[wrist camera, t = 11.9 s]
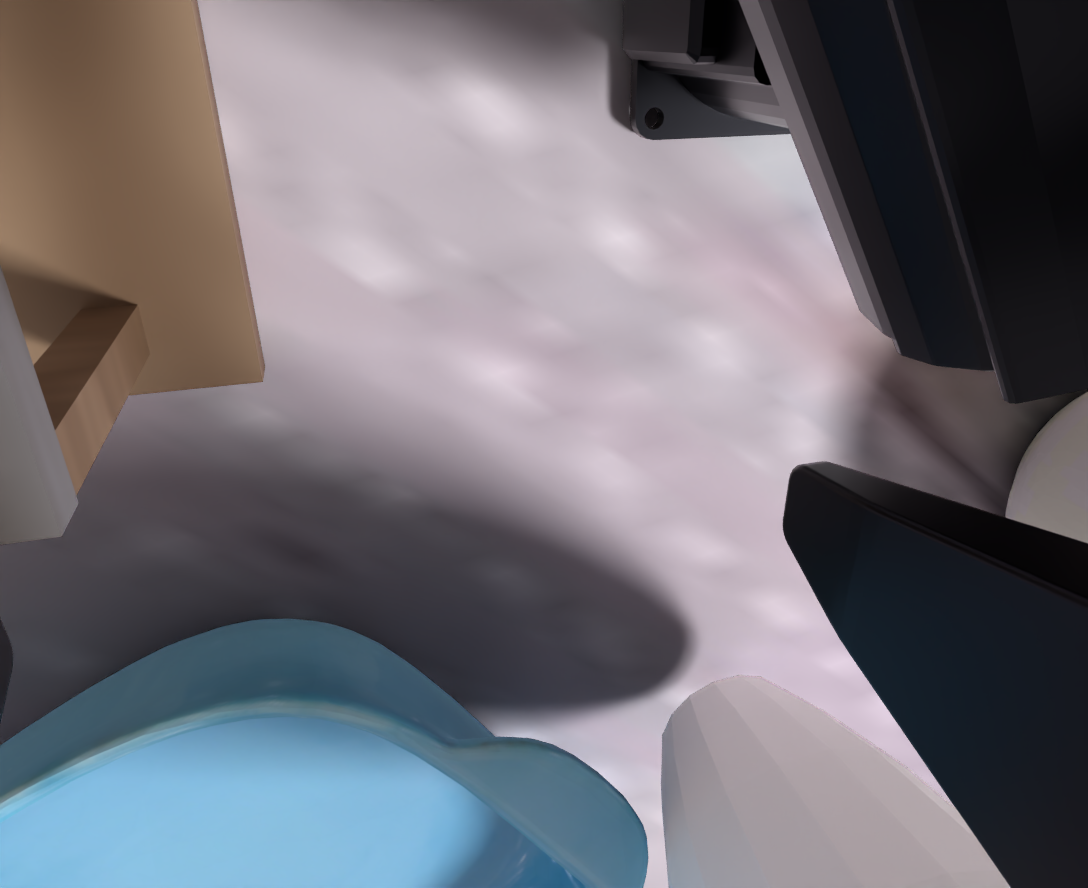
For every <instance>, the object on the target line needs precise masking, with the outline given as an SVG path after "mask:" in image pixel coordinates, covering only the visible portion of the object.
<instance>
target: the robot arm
mask: <svg viewBox="0 0 1088 888" xmlns="http://www.w3.org/2000/svg"><path fill="white" fill-rule="evenodd" d="M622 48H623V50H624V51H625V52H626V54H627V55H628V56H629V57H630V58H631V59H632V74H631V101H630V122H631V127H632V128H633V130H634V132H635V133H636V134H638V135H639V136H640V137H643V138H646V139H651V140H662V139H685V138H708V137H730V136H753V135H776V134H791V136H792V138H793V141H794V144H795V146H796V149H797V151H798V154H799V156H800V159H801V162H802V164H803V167H804V169H805V172H806V174H807V177H808V179H809V182H810V185H811V187H812V190H813V192H814V195H815V197H816V200H817V203H818V205H819V208H820V210H821V213H822V215H823V218H824V221H825V223H826V226H827V228H828V231H829V233H830V236H831V239H832V241H833V244H834V246H835V249H836V251H837V254H838V256H839V259H840V262H841V264H842V267H843V269H844V272H845V274H846V277H847V280H848V282H849V285H850V287H851V290H852V292H853V295H854V298H855V300H856V303H857V305H858V308H859V310H860V312H861V313H862V314H863V315H864V316H865V317H866V318H868V319H869V320H870V321H871V322H872V323H873V324H874V325H875V326H876V327H877V328H878V329H879V330H880V331H881V332H882V333H883V334H884V335H886V336H888V337H890V338H892V340H893V342H894V345H895V348H896V350H897V352H898V353H900V354H901V355H902V356H906V357H909V358H912V359H915V360H918V361H921V362H925V363H928V364H931V365H935V366H942V367H951V368H960V369H970V370H980V371H990V372H993V371H995V374H996V378H997V381H998V384H999V388H1000V391H1001V394H1002V397H1003V399H1004V400H1005V401H1007V402H1008V403H1015V404H1017V403H1023V402H1028V401H1033V400H1037V399H1042V398H1047V397H1051V396H1056V395H1061V394H1065V393H1070V392H1075V391H1079V390H1084V389H1088V0H624V5H623V37H622ZM651 108H655V109H656V110H657V112H658V119H657V122H656V124H655V125H654V126H653V127H650V128H648V127H647V125H646V124H645V115H646V113H647V112H648V110H649V109H651ZM783 532H784V536H785V539H786V541H787V543H788V545H789V547H790V549H791V551H792V553H793V555H794V556H795V558H796V560H797V562H798V564H799V566H800V567H801V569H802V571H803V573H804V575H805V577H806V579H807V580H808V582H809V584H810V586H811V588H812V590H813V592H814V593H815V595H816V597H817V599H818V601H819V603H820V605H821V606H822V608H823V610H824V612H825V614H826V616H827V617H828V619H829V621H830V623H831V625H832V626H833V628H834V630H835V631H836V633H837V635H838V637H839V638H840V640H841V641H842V643H843V644H844V646H845V647H846V649H847V651H848V652H849V654H850V655H851V657H852V658H853V659H854V661H855V662H856V664H857V665H858V667H859V668H860V670H861V671H862V673H863V674H864V675H865V677H866V678H867V680H868V681H869V683H870V684H871V686H872V687H873V689H874V690H875V691H876V693H877V694H878V696H879V697H880V699H881V700H882V702H883V703H884V705H885V706H886V707H887V709H888V710H889V712H890V713H891V715H892V716H893V718H894V719H895V721H896V722H897V723H898V725H899V726H900V728H901V729H902V731H903V732H904V734H905V735H906V737H907V738H908V739H909V741H910V742H911V744H912V745H913V747H914V748H915V750H916V751H917V753H918V754H919V755H920V757H921V758H922V760H923V761H924V763H925V764H926V766H927V767H928V769H929V770H930V771H931V773H932V774H933V776H934V777H935V779H936V780H937V782H938V783H939V785H940V786H941V787H942V789H943V790H944V792H945V793H946V795H947V796H948V798H949V799H950V801H951V802H952V803H953V805H954V806H955V808H956V809H957V811H958V812H959V814H960V815H961V817H962V818H963V819H964V821H965V822H966V824H967V825H968V827H969V828H970V830H971V831H972V833H973V834H974V835H975V837H976V838H977V840H978V841H979V843H980V844H981V846H982V847H983V849H984V850H985V851H986V853H987V854H988V856H989V857H990V859H991V860H992V862H993V863H994V865H995V866H996V867H997V869H998V870H999V872H1000V873H1001V875H1002V876H1003V878H1004V879H1005V881H1006V882H1007V883H1008V885H1009V886H1010V888H1088V543H1086V542H1083V541H1079V540H1076V539H1073V538H1070V537H1067V536H1063V535H1060V534H1057V533H1054V532H1051V531H1047V530H1044V529H1041V528H1038V527H1035V526H1032V525H1028V524H1025V523H1022V522H1019V521H1016V520H1012V519H1009V518H1006V517H1003V516H1000V515H996V514H993V513H990V512H987V511H984V510H980V509H977V508H974V507H971V506H968V505H964V504H961V503H958V502H955V501H952V500H949V499H945V498H942V497H939V496H936V495H933V494H929V493H926V492H923V491H920V490H917V489H913V488H910V487H907V486H904V485H901V484H897V483H894V482H891V481H888V480H885V479H881V478H878V477H875V476H872V475H869V474H866V473H862V472H859V471H856V470H853V469H850V468H846V467H843V466H840V465H837V464H834V463H830V462H815V463H808V464H802V465H798V466H796V467H795V468H794V469H793V470H792V472H791V474H790V478H789V483H788V490H787V496H786V503H785V510H784V516H783ZM12 667H13V651H12V646H11V643H10V640H9V638H8V635H7V633H6V630H5V628H4V625H3V623H2V621H1V618H0V722H1V718H2V713H3V709H4V704H5V700H6V695H7V691H8V686H9V682H10V677H11V673H12Z"/></svg>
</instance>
